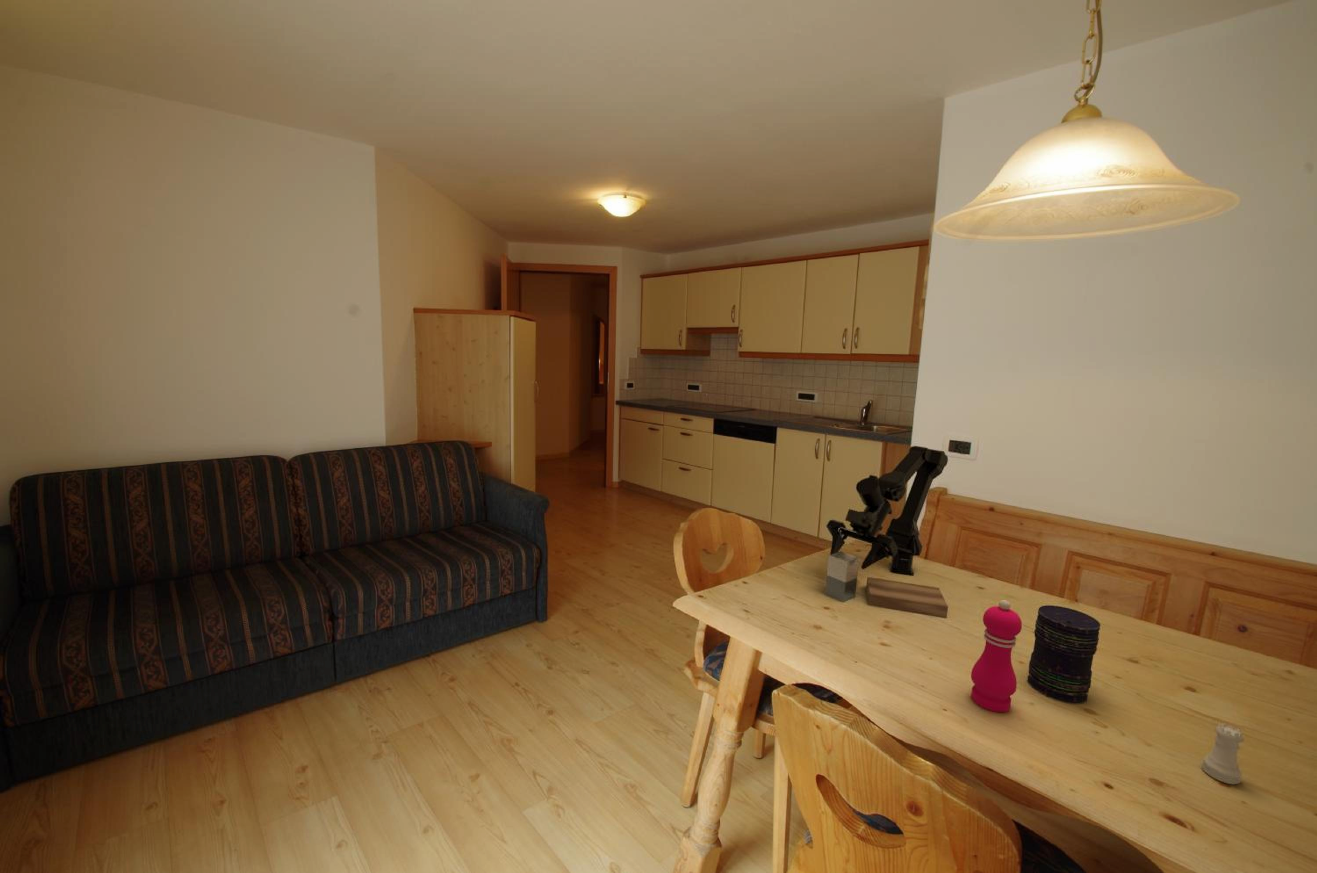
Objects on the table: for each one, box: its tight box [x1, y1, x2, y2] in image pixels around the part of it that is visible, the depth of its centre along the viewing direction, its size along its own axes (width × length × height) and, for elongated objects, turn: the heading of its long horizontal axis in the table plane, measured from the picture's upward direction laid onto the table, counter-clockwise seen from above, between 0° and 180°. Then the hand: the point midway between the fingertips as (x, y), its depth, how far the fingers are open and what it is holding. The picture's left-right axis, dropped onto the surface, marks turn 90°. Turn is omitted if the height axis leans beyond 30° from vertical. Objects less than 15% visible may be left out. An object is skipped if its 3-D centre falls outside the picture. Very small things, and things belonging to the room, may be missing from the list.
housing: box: [824, 550, 860, 603], centre depth 145 cm, size 6×6×11 cm
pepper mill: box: [970, 599, 1023, 713], centre depth 101 cm, size 7×7×20 cm
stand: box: [865, 576, 949, 619], centre depth 144 cm, size 12×18×3 cm, turn 73°
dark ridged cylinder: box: [1026, 604, 1101, 705], centre depth 107 cm, size 10×10×15 cm
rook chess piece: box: [1200, 723, 1245, 785], centre depth 86 cm, size 4×4×8 cm
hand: (846, 562), depth 145 cm, fingers open, 9 cm apart
